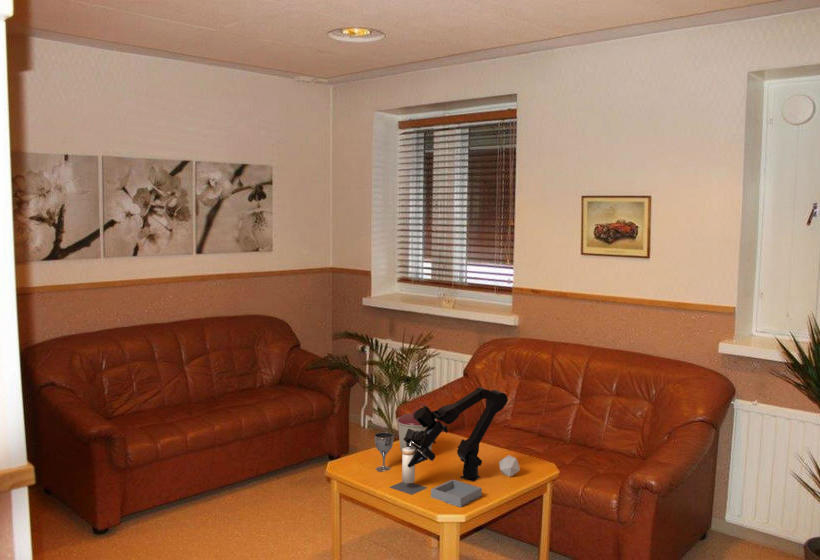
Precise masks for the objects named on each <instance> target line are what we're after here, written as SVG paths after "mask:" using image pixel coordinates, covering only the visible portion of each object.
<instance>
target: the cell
mask: <svg viewBox="0 0 820 560" xmlns="http://www.w3.org/2000/svg"><path fill="white" fill-rule="evenodd" d="M401 454H402V457H401V458H402V459H401V470H402V471H401V482H404V483H415V482H416V481H415V479H416V473H415V472H416V465H414V466H412V467H408V464H409V462H410V461H411V459H412V458H413V456H414V455H415V448H413V447H404V448H403V449H402V453H401Z"/></svg>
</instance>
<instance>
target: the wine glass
mask: <svg viewBox="0 0 820 560" xmlns="http://www.w3.org/2000/svg"><path fill="white" fill-rule="evenodd" d="M374 443H375V447H376V450H377V451H378V452H379V453H380V454H381V457H382V465H380V466H377V467H376V468H375V470H377V471H376V472H379V473H382V472H387V471H390V470H391V469H392V467H390V466H386V457H387V455H388V453H389V452H390V451H391V450H392V447H393V444H394V433H392V432H386V431H385V432H384V431H383V432H376V433H375V434H374Z"/></svg>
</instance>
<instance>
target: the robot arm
mask: <svg viewBox="0 0 820 560" xmlns="http://www.w3.org/2000/svg"><path fill="white" fill-rule="evenodd" d="M484 399H485V407H484V410H483V412H482V414H481V416H480V417H479V420H478V421H477V422H476V424H475V426H474V428H473V430H472V432H471V433H470V435H469V437H468V438H467V439H463V438H462V439H461V440H460V443H459V445H458V446H457V450H456V453H457V454H456V455H457V456H458V458H459V459H460V461H461V462H463V466H462V467H463V469H462V475H461V476H460V477H459V478H460V479H462V480H466V481H470V482H475V481H477V480H478V479H481V478H482V476H481V475H479V467H480V466H482V463H483V460H482V459H481V458H480V457H479V456H478V455H479V452H480V443H481V441H482V440H483V438H484V436H485V435H486V433H487V431H488V429H489V427H490V425H491V423H492V421H493V419H494V418H495V416H496V414H498V413H499V412H501V411H502V410H503V409H504V408H505V406H506V405H507V404H508V401H509V400H508V396H507V394H506V393H504V392H502V391H499V390H497V389H492V390H489V389H487V388H486V389H485V388H484V387H481V386H479V387H476V389H475V390H473V391H472V392H470V393H468V394H467V395H466V396H463V397H461V398H460V399H459V400H457V401H456V402H453V403H450V404H445V405H443V406H441V407H439V408H438V409H436V410H432V411H431V409H430V408H429V407H428V406H427V405H424V406H422V407H420V408H418V409H416V410H417V411H416V412H415V414H414V418H415V419H416V420H417V421H418V422H419V423H420V424H421V425H422V426H423V427H427V428H426V429H425V430H424V431H420V432H419V431H414V430H411V429H408V430H407V433H406V435H405V436H406V437H405V438H404V439H403V440H404V441H405V442H406V446H407V447H413V448H415V455H414V456H413V458H412V459H411V461H410V462H409V464H408V467H412V466H414V465H415V466H416V465H417V464H420V463H422V462H425V461H428V460H429V461H431V462H433V461H434V460H435V458H436V454H435V453H434V452H433V451H432V449H431V450H430V449H429V447H430V445H431V444H432V445H433V444H436V443H437V442H436V439H437V438H438V437H439V436H440V435H441V434H442V432H444V433H446V434H447V433H448V426H447V425H450V424H453V423H454V422H455V421H456V420H457V419H458V418H459V416H460V415H461V414H462V413H463V412H465V411H466V410H467V409H470V408H471V407H473V406H474V405H475V404H477V403H479V402H480V401H482V400H484ZM435 419H436V420H435ZM417 449H418V450H419V451H418V450H417Z"/></svg>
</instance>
